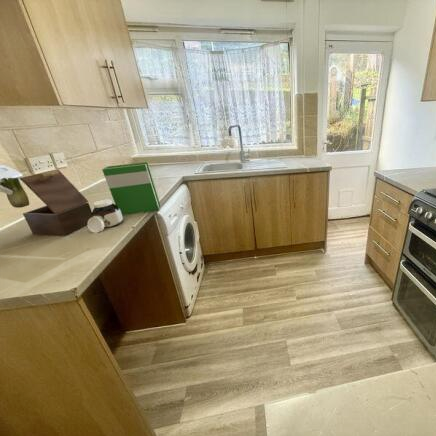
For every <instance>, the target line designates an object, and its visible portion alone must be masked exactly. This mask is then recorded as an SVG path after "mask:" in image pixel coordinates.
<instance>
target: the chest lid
mask: <svg viewBox="0 0 436 436" xmlns="http://www.w3.org/2000/svg"><path fill="white" fill-rule="evenodd" d="M20 181H22V183H23V184H24V185H25V186H27V188H28V189H30V191H32V193H33V194H34V195H36V196H37V198H38V199H39V200H40V201H41V202H43V203H44V205H45V206H48V207H49V208H50V209H51V210H52V211H53V212H54V213H55V214H58V213H60V212H63V211H66V210H68V209H71V208H74V207H76V206H79V205H82V204H84V203H89V200H88V199H87V198H86V197H85V196H84V195H83V194H82V193H81V192H80V191H79V189H78V188H77V187H76V186H75V185H74V184H73V183H72V181H70V180H69V179H68V178H67V177H66V176H65V175H64V174H63V173H62V172H61V170H60V169H53V170H50V171H45V172H40V173H36V174H30V175H26V176H22V178H20Z"/></svg>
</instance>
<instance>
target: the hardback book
mask: <svg viewBox="0 0 436 436" xmlns="http://www.w3.org/2000/svg"><path fill="white" fill-rule="evenodd" d="M101 171H102V173H103V176H104V178H105V181H106V184H107V187H108V189H109V191H110V194H111V196H112V199H113V202H114V204H115V205H117V206H118V207H119V209H120V211H121V213H122V216H130V215H134V214H142V213H150V212H156V211H160V207H161V203H160V199H159V196H158V193H157V189H156V186H155V182H154V178H153V176H152V173H151V170H150V166H149V163H148V161H144V162H135V163H127V164H118V165H109V166H105V167H104V168H102V169H101Z"/></svg>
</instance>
